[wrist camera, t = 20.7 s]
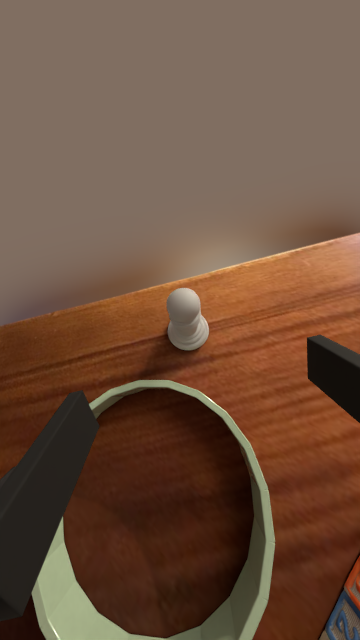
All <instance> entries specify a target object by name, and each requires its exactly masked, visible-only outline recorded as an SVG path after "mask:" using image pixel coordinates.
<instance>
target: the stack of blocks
mask: <svg viewBox="0 0 360 640" xmlns="http://www.w3.org/2000/svg"><path fill="white" fill-rule="evenodd" d="M319 640H360V556H359V557H358V559H357V561H356V563H355V565H354V567H353V569H352V571H351V573H350V575H349V577H348V579H347V581H346V583H345V585H344V591H343V592H342V593H341V595H340V597H339V600H338V602H337V604H336V606H335V608H334V610H333V612H332V614H331V616H330V618H329V620H328V622H327V624H326V628H325V630H324V631H323V633H322V635H321V637H320V639H319Z"/></svg>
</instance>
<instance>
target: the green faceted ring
mask: <svg viewBox="0 0 360 640" xmlns="http://www.w3.org/2000/svg"><path fill="white" fill-rule="evenodd" d="M145 389H173V390H176V391H179V392H182V393H185V394H187V395H190V396H193V397H196V398H197V399H198V400H200V401H201V402H202V403H204V404H205V405H206V406H207V407H209V408H210V409H211V410H212V411H214V412H215V413H216V414H218V415H219V416H220V418H221V419H222V420H223V422H224V423H225V425H226V426H227V427H228V429H229V430H230V432H231V433H232V435H233V436H234V437H235V439H236V440H237V442H238V444H239V447H240V450H241V452H242V455H243V458H244V460H245V463H246V466H247V469H248V471H249V474H250V479H251V489H252V499H253V508H254V521H253V527H252V534H251V540H250V546H249V553H248V559H247V561H246V563H245V565H244V567H243V569H242V571H241V573H240V576H239V578H238V580H237V582H236V584H235V586H234V588H233V590H232V592H231V595H230V597H229V598H228V599H227V600H226V601H225V602H224V603H223V604H222V605H221V606H220V607H219V608H218V609H217V610H216V611H215V612H214V613H213V614H212V615H211V616H210V617H209V618H208V619H207V620H206V621H205V622H204V623H203V624H202V625H201V626H198V627H195V628H193V629H190V630H187V631H185V632H182V633H179V634H177V635H174V636H171V637H168V638H166V639H164V638H157V637H149V636H142V635H135V634H129V633H127V632H126V631H124V630H123V629H122V628H120V627H119V626H117V625H116V624H114V623H113V622H111V621H110V620H108V619H107V618H105V617H104V616H102V615H101V614H99V613H98V612H97V610H96V609H95V608H94V606H93V605H92V603H91V602H90V600H89V599H88V597H87V596H86V594H85V593H84V591H83V590H82V588H81V587H80V585H79V584H78V583H77V581H76V579H75V575H74V572H73V569H72V566H71V562H70V559H69V556H68V553H67V549H66V546H65V543H64V531H63V517H62V519H61V522H60V524H59V527H58V529H57V532H56V534H55V537H54V539H53V541H52V544H51V546H50V549H49V551H48V554H47V556H46V559H45V561H44V564H43V566H42V568H41V571H40V573H39V576H38V578H37V581H36V583H35V586H34V588H33V591H32V597H33V602H34V606H35V610H36V614H37V619H38V623H39V627H40V628H41V631H42V633H43V635H44V636H45V638H46V640H252V638H253V636H254V634H255V631H256V629H257V627H258V624H259V622H260V620H261V617H262V615H263V613H264V610H265V608H266V605H267V601H268V598H269V590H270V582H271V574H272V565H273V557H274V549H275V537H274V529H273V521H272V514H271V506H270V498H269V491H268V487H267V485H266V482H265V479H264V477H263V474H262V472H261V469H260V467H259V464H258V461H257V459H256V456H255V454H254V451H253V449H252V446H251V444H250V443H249V442H248V440H247V439H246V437H245V436H244V435H243V433H242V432H241V431H240V429H239V428H238V426H237V425H236V424H235V422H234V421H233V420H232V418H231V417H230V416H229V414H228V413H227V412H226V411H225V410H223V409H222V408H221V407H220V406H218V405H217V404H216V403H214V402H213V401H212V400H210V399H209V398H208V397H207V396H205V395H204V394H203V393H201V392H200V391H198V390H195V389H193V388H190V387H187V386H184V385H181V384H178V383H176V382H173V381H170V380H138V381H134V382H131V383H128V384H125V385H122V386H119V387H116V388H113V389H110V390H108V391H107V392H106V393H104V394H103V395H101V396H100V397H99V398H97V399H96V400H94V401H93V402H92V403H90V404H89V405H90V407H91V410H92V412H93V414H94V416H95V418H96V419H97V417H98V416H99V415H100V414H101V413H102V412H103V411H104V410H106V409H107V408H108V407H110V406H111V405H113V404H114V403H115V402H117V401H118V400H119V399H121V398H122V397H124V396H127V395H130V394H133V393H136V392H139V391H142V390H145Z"/></svg>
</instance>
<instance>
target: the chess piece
mask: <svg viewBox="0 0 360 640" xmlns="http://www.w3.org/2000/svg"><path fill="white" fill-rule="evenodd" d="M167 310H168V313H169V317H170V320H171V321H170V323H169V326H168V337H169V339H170V341H171V342H172V344H173V345H174V346H176V347H177V348H179V349H182V350H194V349H197V348H199V347H200V346H202V345H203V344H204V343H205V341H206V340H207V338H208V334H209V327H208V324H207V321H206V320H205V319H204V317H203V316H201V311H200V300H199V297H198V296H197V294H196V293H195V292H194V291H193V290H191V289H188V288H179V289H177V290H175V291H173V292H172V293H171V294H170V295H169V297H168V299H167Z"/></svg>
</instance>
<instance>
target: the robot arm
mask: <svg viewBox="0 0 360 640" xmlns="http://www.w3.org/2000/svg"><path fill="white" fill-rule="evenodd" d="M307 362H308V379H309V380H310V381H312V382H313V383H314V384H315V385H316V386H317V387H318V388H320V389H321V390H322V391H323V392H324V393H325V394H327V395H328V396H329V397H330V398H331V399H332V400H334V401H335V402H336V403H337V404H338V405H339V406H341V407H342V408H343V409H344V410H345V411H346V412H347V413H349V414H350V415H351V416H352V417H353V418H354V419H356V420H357V421H358V422H359V423H360V354H358V353H356V352H354V351H352V350H350V349H348V348H346V347H344V346H342V345H340V344H338V343H336V342H334V341H332V340H330V339H328V338H326V337H324V336H322V335H317V336H313V337H308V338H307ZM98 429H99V424H98V422H97V420H96V418H95V416H94V414H93V412H92V410H91V407H90V405H89V403H88V401H87V399H86V397H85V395H84V393H83V391H82V390H81V391H77V392H73V393H69V395H68V396H67V397H66V399H65V400H64V402H63V403H62V404H61V406H60V407H59V408H58V410H57V411H56V413H55V414H54V415H53V417H52V418H51V419H50V421H49V422H48V424H47V425H46V426H45V428H44V429H43V430H42V432H41V433H40V435H39V436H38V437H37V439H36V440H35V441H34V443H33V444H32V446H31V447H30V448H29V450H28V451H27V452H26V454H25V455H24V457H23V458H22V459H21V461H20V462H19V463H18V465H17V466H16V467H13V468H12V469H11V470H10V471H9V472H8V473H7V474H6V475H5V476H4V477H3V478H2V479H1V480H0V621H3V620H8V619H12V618H17V617H21V616H22V615H23V613H24V610H25V608H26V605H27V603H28V600H29V598H30V595H31V593H32V591H33V588H34V586H35V583H36V581H37V578H38V576H39V573H40V571H41V568H42V566H43V564H44V561H45V559H46V556H47V554H48V551H49V549H50V546H51V544H52V541H53V539H54V537H55V534H56V532H57V529H58V527H59V524H60V522H61V519H62V517H63V514H64V512H65V510H66V507H67V505H68V502H69V500H70V497H71V495H72V492H73V490H74V487H75V485H76V483H77V480H78V478H79V475H80V473H81V470H82V468H83V465H84V463H85V460H86V458H87V456H88V453H89V451H90V448H91V446H92V443H93V441H94V438H95V436H96V433H97V431H98Z"/></svg>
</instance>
